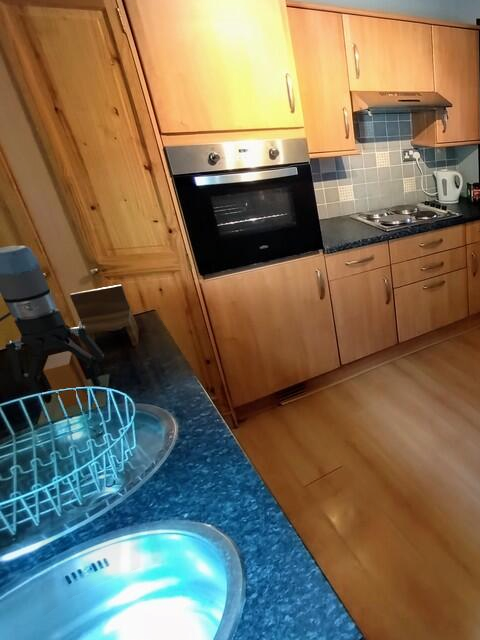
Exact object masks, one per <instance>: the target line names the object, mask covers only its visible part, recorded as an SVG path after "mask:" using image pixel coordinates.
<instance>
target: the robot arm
mask: <svg viewBox="0 0 480 640" xmlns="http://www.w3.org/2000/svg"><path fill="white" fill-rule="evenodd" d="M0 295H1V297H2V299H3V301H4V303H5V305H6V307H7V309H8V313H6V314H4V315H2V316H1V317H0V322H2V321H4V320H5V319H7V318H8V317H9V316H11V317H12V318H14V320H13V321H14V323H15V325H16V328H17V330H18V331H19V333H20V338H18V339H15V340H14V339H10V340H7V342H6V344H5V346H4V348H5V350H6V351H7V352H8V353H9V354H10V359H11V360H10V361H11V366H12V371H13V372H12V373H13V378H14V382H16V383H21V382H28V384H29V386H30V388H31V389H32V391H33V392H34V393H40V394H41V393H42V392H46V391H49V390H50V389H49V388H48V386H47V383H46V382H45V380H44V377H43V376H42V374H40V375H37V373H38V368H39V365H40V364H39V363H40V359H41V354H42V352H46V351H49V350H51V349H60V348H62V349H64V350H66V351H69V352H71V353H72V354H74V355H75V356H76V358H77V359H80V360H81V361H82V362H84V363H85V364H86V367H85V368H86V371H87V373H88V375H89V379H91V380H92V382H93V384H94V386H100V381H99V379H98V377H99V376H101V371H102V369H101V368H100V366H99V363H100V362H103V361H104V360H105V353H104V351H102V349H101V348H100V347H99V345H98V344H97V343H96V341H95V342H94V341H93V339H92V338H91V337H90V336H89V334H88V333H87V329H86V326H85V325H80V326H79V327H78V326H73V327H70V326H69V325H68V324H66V322H65V320H64V318H63V315H62V313H61V310H60V309H59V308H58V304H57V302H56V299H55V297H54V295H53V293H52V291H51V289H50V286H49V284H48V282H47V280H46V277H45V275H44V272H43V271H42V267H41V266H40V262H39V259H38V258H37V257H36V255H35V254H34V252H33V250H32V249H31V247H29V246H26V245H9V246H8V245H7V246H1V247H0ZM71 334H74V335H75V336H76V337H77V336H79V337H80V339H81V341H82V342H83V343H84V344H85V345H86V347H87V348H88V349H89V350H90V352H91V353H92V355H90V354H89V353H87V352H86V351H85V350H83V348H82V347H80V346H79V345H78V344H76V343H75V342H74V341H73V340H72V339H70V338H69V336H70V335H71ZM23 344H24V345H27V346H28V347H30V348H33V350H32V355H31V358H30V363H29V367H28V373H25V370H24V364H23V358H22V357H23V356H22V351H21V349H22V347H23ZM42 399H43V401H44V403H45V402H46V404H47V403H50V402H51V399H52V396H51V394H50V395H44V396H42Z"/></svg>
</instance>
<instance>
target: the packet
mask: <svg viewBox="0 0 480 640" xmlns="http://www.w3.org/2000/svg"><path fill="white" fill-rule="evenodd" d="M42 372H43V374H44V376H45V377H46V379H47V382H48V384H49V386H50V389H52V390H59V389H66V388H76V387H85V386H89V384H88V382H87V380H88V379H87V378H86V376H85V373H84V371H83V369H82V367H81V364H80V363H79V360H78V357H77V356H75V355H74V354H72V353H71V352H69V351H68V350H66V351H63V352H57V353H55V354H50V355H48V356H47V359H46V362H45V364H44V367H43V369H42ZM54 394H55V396H56V398H57V400H58V395H59V396H60V398H61V400H62V402H63V404H64V407H69V406H72V405H76V404H78V403H77V399H76V391H75V390H69V391H62V392H60V393H59V394H58V393H54ZM77 394H78V397H79V399H80V401H81V403H83V402H86V400H87V391H86V390H78V391H77ZM58 402H59V400H58ZM59 404H60V403H59Z"/></svg>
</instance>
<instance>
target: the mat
mask: <svg viewBox="0 0 480 640" xmlns="http://www.w3.org/2000/svg"><path fill="white" fill-rule="evenodd" d="M97 377H98V379H99V381H100V386H106V387H108V388H109V381H110V374H103V375H99V376H97ZM86 380H87V382H88V384H89V386H94V384H93V382H92V380H91V378H88V379H86ZM49 390H52V388H50V389H49ZM51 396H52V399H51V402H50V403H47V404H46V402H45V401H44V403H43V405H44V404H45V406H46V409H47V411H48V414H49V416H50V418H51V420H52V421H53V422H56V421H59V420H63V419H65V418H64V414H63V411H62V409H61V407H60V404H59V402H58V400H57V398H56V396H55V394H52V395H51ZM95 398H96V399H97V401H98V403H99V406H100V408H103V407H106V405H107V398H106V393H105V392H102V391H96V394H95ZM81 404H82V411H83V413H86V412H89V411H88V395H87V400H86V402H83V403H81ZM65 408H66V411H67V414H68V416H69V417H73V416H76V415H79V414H81V413H80V412H81V411H80V409H79V406H78V404H76V405H72V406H69V407H65ZM91 409H92V410H91V411H93V410H97V409H98V408H97V407H96V404H95V402H93V403H92V407H91ZM69 417H68V418H69ZM46 424H48V423H47V419H46V418H45V415H44V412H43V411H42V410H41V412H40V416H39V419H38V421H37V425H38V426H42V425H46Z"/></svg>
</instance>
